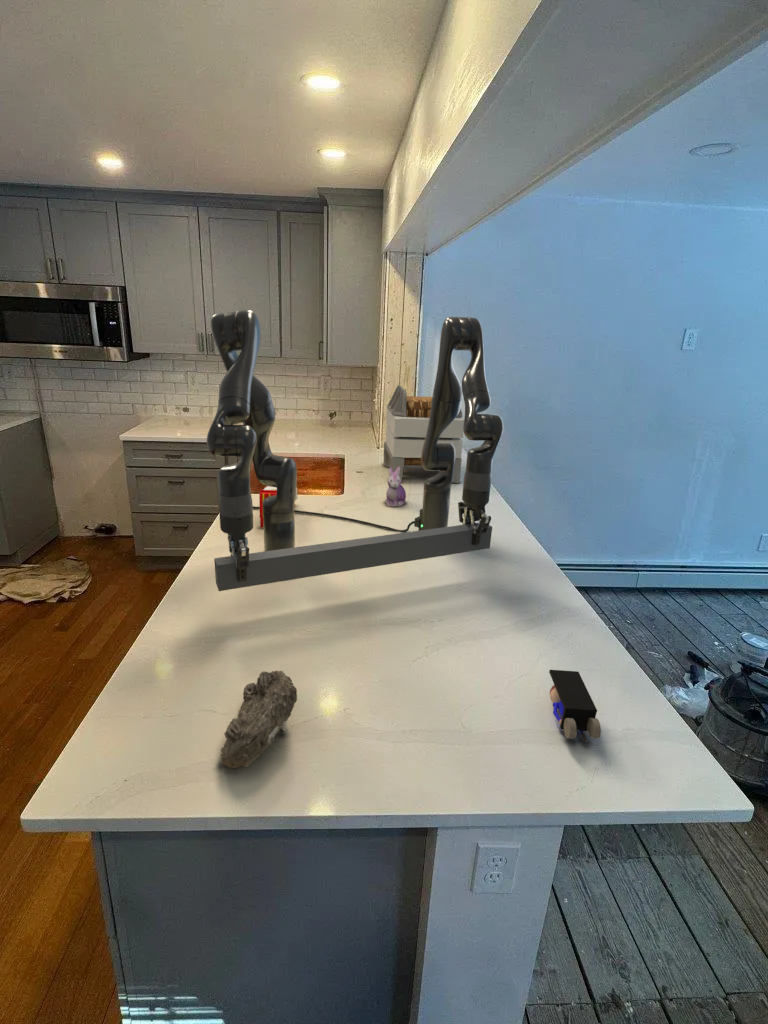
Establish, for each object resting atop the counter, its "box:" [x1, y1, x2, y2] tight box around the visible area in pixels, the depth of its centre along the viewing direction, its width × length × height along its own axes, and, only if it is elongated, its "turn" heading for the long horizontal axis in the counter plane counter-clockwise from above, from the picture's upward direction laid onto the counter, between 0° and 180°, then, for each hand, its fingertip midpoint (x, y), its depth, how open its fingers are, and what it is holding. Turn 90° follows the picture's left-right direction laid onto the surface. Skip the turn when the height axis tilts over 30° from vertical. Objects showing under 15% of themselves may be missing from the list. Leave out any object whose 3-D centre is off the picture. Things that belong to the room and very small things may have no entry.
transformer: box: [383, 384, 465, 484], centre depth 268 cm, size 34×33×41 cm
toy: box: [258, 486, 298, 529], centre depth 211 cm, size 12×13×30 cm
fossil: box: [220, 670, 298, 769], centre depth 104 cm, size 22×10×15 cm
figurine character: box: [548, 669, 602, 743], centre depth 110 cm, size 7×8×15 cm
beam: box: [213, 524, 493, 592], centre depth 150 cm, size 77×4×7 cm, turn 115°
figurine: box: [385, 467, 407, 507], centre depth 228 cm, size 9×10×15 cm
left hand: (239, 576), depth 137 cm, fingers closed on beam, 4 cm apart
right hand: (470, 541), depth 164 cm, fingers closed on beam, 4 cm apart
